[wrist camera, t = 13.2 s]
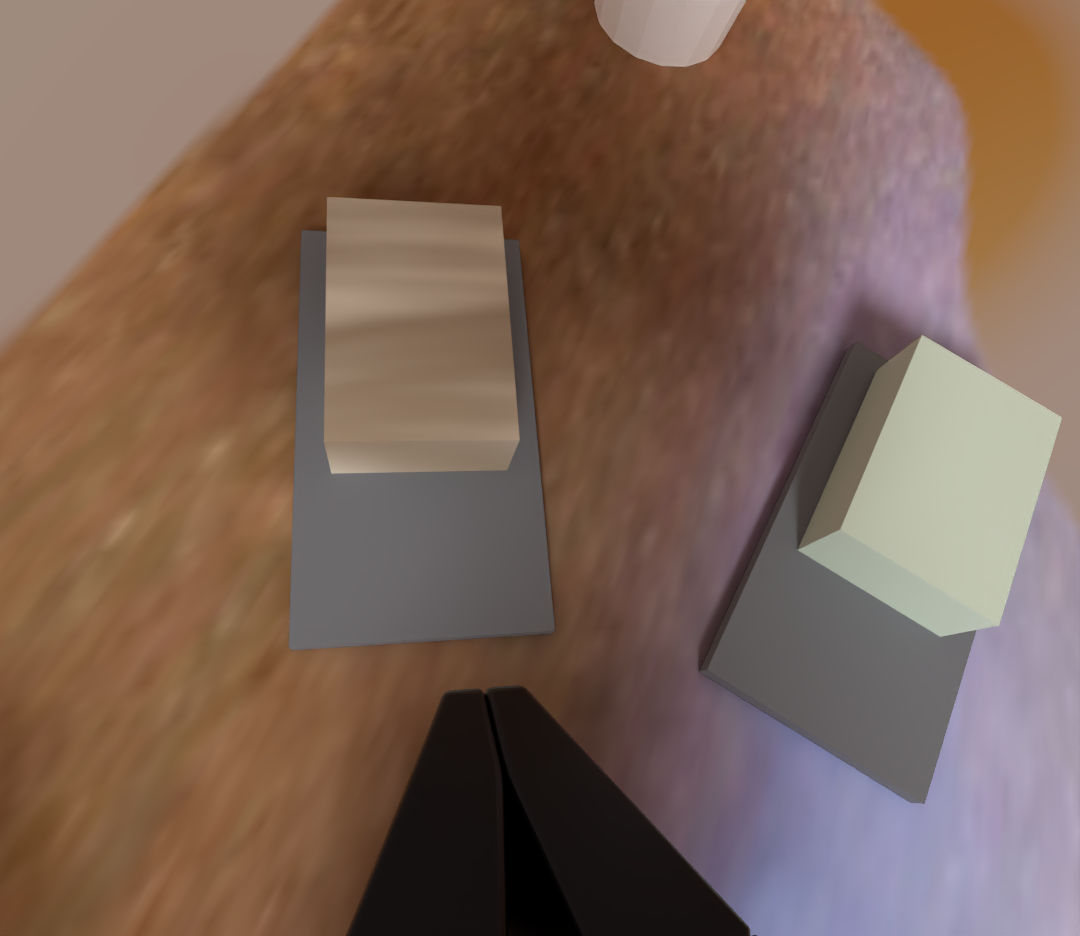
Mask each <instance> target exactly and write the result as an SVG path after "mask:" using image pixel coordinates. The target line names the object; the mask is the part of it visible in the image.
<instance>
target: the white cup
mask: <svg viewBox="0 0 1080 936" xmlns="http://www.w3.org/2000/svg"><path fill="white" fill-rule="evenodd" d="M745 2H746V0H595V2H594V5H595V9H596V13H597V17H598V21H599V24H600V25H601V27H602V28H603V29H604V30H605V32H606V33H607V34H608V36H609V37H610V38H611V40H612V41H613V42H614V43H615V44H617V45H618V46H620V47H621V48H623V49H624V50H626V51H627V52H629V53H630V54H631V55H633V56H634V57H636V58H639V59H642V60H645V61H648V62H651V63H654V64H657V65H660V66H675V67H688V66H691V65H694V64H697V63H700V62H703V61H706V60H707V59H708V58H709V57H710V56H711V55H712V54H713V53H714V52H715V51H716V50H717V49H718V48H719V47H720V45H721V43H722V42H723V40H724V38H725V37H726V35H727V33H728V31H729V30H730V28H731V26H732V24H733V23H734V21H735V19H736V17H737V16H738V14H739V12H740V10H741V9H742V7H743V5H744V4H745Z"/></svg>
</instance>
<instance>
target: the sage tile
mask: <svg viewBox="0 0 1080 936" xmlns="http://www.w3.org/2000/svg"><path fill="white" fill-rule="evenodd" d="M1061 419H1062V417H1060V416H1058V415H1057V414H1055V413H1053V412H1052V411H1050V410H1048V409H1046V408H1045V407H1043V406H1042V405H1040V404H1038V403H1036V402H1035V401H1033V400H1031V399H1030V398H1028V397H1026V396H1025V395H1023V394H1021V393H1019V392H1018V391H1016V390H1015V389H1013V388H1011V387H1009V386H1008V385H1006V384H1004V383H1003V382H1001V381H999V380H998V379H996V378H994V377H993V376H991V375H989V374H988V373H986V372H984V371H982V370H981V369H979V368H977V367H976V366H974V365H972V364H971V363H969V362H967V361H966V360H964V359H962V358H960V357H959V356H957V355H955V354H954V353H952V352H950V351H949V350H947V349H945V348H944V347H942V346H940V345H938V344H937V343H935V342H933V341H932V340H930V339H928V338H927V337H925V336H923V335H921V336H920V337H919V338H917V339H916V340H915V341H913V342H912V343H911V344H910V345H908V346H907V347H906V348H905V349H903V350H902V351H901V352H899V353H898V354H897V355H896V356H894V357H893V358H892V359H890V360H889V361H888V362H887V363H885V364H884V365H883V366H882V367H880V368H879V369H878V370H877V371H876V373H875V376H874V378H873V380H872V382H871V385H870V387H869V389H868V392H867V394H866V396H865V398H864V401H863V403H862V405H861V407H860V410H859V412H858V414H857V416H856V419H855V421H854V423H853V426H852V428H851V430H850V432H849V435H848V437H847V439H846V441H845V444H844V446H843V448H842V450H841V453H840V455H839V457H838V459H837V462H836V464H835V466H834V469H833V471H832V473H831V475H830V478H829V480H828V482H827V484H826V487H825V489H824V491H823V493H822V496H821V498H820V500H819V503H818V505H817V507H816V509H815V512H814V514H813V516H812V518H811V521H810V523H809V525H808V527H807V530H806V532H805V534H804V537H803V539H802V541H801V543H800V546H799V548H798V551H800V552H802V553H803V554H805V555H806V556H808V557H810V558H811V559H813V560H815V561H816V562H818V563H820V564H821V565H823V566H825V567H826V568H828V569H830V570H831V571H833V572H834V573H836V574H838V575H839V576H841V577H843V578H844V579H846V580H848V581H849V582H851V583H853V584H854V585H856V586H857V587H859V588H861V589H862V590H864V591H866V592H867V593H869V594H871V595H872V596H874V597H876V598H877V599H879V600H881V601H882V602H884V603H885V604H887V605H889V606H890V607H892V608H894V609H895V610H897V611H899V612H900V613H902V614H904V615H905V616H907V617H908V618H910V619H912V620H913V621H915V622H917V623H918V624H920V625H922V626H923V627H925V628H927V629H928V630H930V631H932V632H933V633H935V634H936V635H938V636H940V637H942V636H947V635H952V634H957V633H963V632H968V631H973V630H978V629H983V628H989V627H994V626H999V624H1000V620H1001V617H1002V614H1003V611H1004V607H1005V604H1006V601H1007V597H1008V594H1009V591H1010V587H1011V584H1012V581H1013V578H1014V574H1015V571H1016V568H1017V564H1018V561H1019V558H1020V554H1021V551H1022V548H1023V545H1024V541H1025V538H1026V535H1027V531H1028V528H1029V525H1030V521H1031V518H1032V515H1033V512H1034V508H1035V505H1036V502H1037V498H1038V495H1039V492H1040V488H1041V485H1042V482H1043V479H1044V475H1045V472H1046V469H1047V465H1048V462H1049V459H1050V455H1051V452H1052V449H1053V445H1054V442H1055V439H1056V435H1057V432H1058V429H1059V426H1060V422H1061Z"/></svg>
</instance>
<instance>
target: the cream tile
mask: <svg viewBox="0 0 1080 936" xmlns="http://www.w3.org/2000/svg"><path fill="white" fill-rule="evenodd" d="M519 441H520V437H519V425H518V412H517V399H516V387H515V374H514V362H513V349H512V337H511V324H510V312H509V299H508V286H507V274H506V261H505V249H504V236H503V224H502V211H501V206H489V205H470V204H451V203H432V202H414V201H395V200H376V199H357V198H338V197H327V242H326V319H325V396H324V445H325V449H326V453H327V457H328V461H329V466H330V470H331V474H333V473H387V472H442V471H496V470H507V469H508V467H509V464H510V462H511V460H512V457H513V455H514V453H515V450H516V448H517V445H518V443H519Z"/></svg>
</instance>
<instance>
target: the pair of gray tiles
mask: <svg viewBox="0 0 1080 936" xmlns="http://www.w3.org/2000/svg"><path fill="white" fill-rule="evenodd" d="M326 242H327V231H307V230H301V262H300V295H299V328H298V362H297V395H296V428H295V462H294V495H293V528H292V562H291V595H290V628H289V648H290V649H291V650H304V649H320V648H336V647H352V646H367V645H383V644H399V643H415V642H431V641H446V640H462V639H478V638H494V637H510V636H525V635H541V634H551V633H553V632H554V631H555V625H554V614H553V603H552V592H551V581H550V571H549V560H548V549H547V538H546V528H545V517H544V506H543V495H542V484H541V474H540V463H539V452H538V441H537V430H536V420H535V409H534V398H533V387H532V376H531V366H530V355H529V344H528V333H527V322H526V312H525V301H524V290H523V279H522V268H521V258H520V247H519V240H510V239H504V249H505V261H506V274H507V286H508V299H509V312H510V324H511V337H512V349H513V362H514V374H515V387H516V399H517V412H518V425H519V437H520V441H519V443H518V445H517V448H516V450H515V453H514V455H513V457H512V460H511V462H510V464H509V467H508V469H507V470H496V471H442V472H387V473H333V474H331V470H330V466H329V461H328V457H327V453H326V449H325V445H324V396H325V319H326ZM887 362H888V360H886V359H885V358H883V357H881V356H879V355H878V354H876V353H874V352H873V351H871V350H869V349H868V348H866V347H864V346H863V345H861V344H859V343H858V342H855V343H854V344H853V345H852V346H851V347H850V348H849V349H847V351H846V353H845V355H844V357H843V359H842V361H841V364H840V366H839V368H838V370H837V372H836V375H835V377H834V379H833V381H832V383H831V385H830V388H829V390H828V392H827V394H826V396H825V398H824V401H823V403H822V405H821V407H820V409H819V412H818V414H817V416H816V418H815V420H814V422H813V425H812V427H811V429H810V431H809V433H808V436H807V438H806V440H805V442H804V444H803V446H802V449H801V451H800V453H799V455H798V457H797V459H796V462H795V464H794V466H793V468H792V470H791V473H790V475H789V477H788V479H787V481H786V483H785V486H784V488H783V490H782V492H781V494H780V497H779V499H778V501H777V503H776V505H775V507H774V510H773V512H772V514H771V516H770V518H769V520H768V523H767V525H766V527H765V529H764V531H763V534H762V536H761V538H760V540H759V542H758V544H757V547H756V549H755V551H754V553H753V555H752V558H751V560H750V562H749V564H748V566H747V568H746V571H745V573H744V575H743V577H742V579H741V581H740V584H739V586H738V588H737V590H736V592H735V595H734V597H733V599H732V601H731V603H730V605H729V608H728V610H727V612H726V614H725V616H724V619H723V621H722V623H721V625H720V627H719V629H718V632H717V634H716V636H715V638H714V640H713V643H712V645H711V647H710V649H709V651H708V653H707V656H706V658H705V660H704V662H703V664H702V666H701V669H700V671H699V672H700V673H702V674H704V675H705V676H707V677H708V678H710V679H712V680H713V681H715V682H716V683H718V684H720V685H721V686H723V687H725V688H726V689H728V690H729V691H731V692H733V693H734V694H736V695H737V696H739V697H741V698H742V699H744V700H746V701H747V702H749V703H750V704H752V705H754V706H755V707H757V708H759V709H760V710H762V711H763V712H765V713H767V714H768V715H770V716H771V717H773V718H775V719H776V720H778V721H780V722H781V723H783V724H784V725H786V726H788V727H789V728H791V729H792V730H794V731H796V732H797V733H799V734H801V735H802V736H804V737H805V738H807V739H809V740H810V741H812V742H814V743H815V744H817V745H818V746H820V747H822V748H823V749H825V750H826V751H828V752H830V753H831V754H833V755H835V756H836V757H838V758H839V759H841V760H843V761H844V762H846V763H848V764H849V765H851V766H852V767H854V768H856V769H857V770H859V771H860V772H862V773H864V774H865V775H867V776H869V777H870V778H872V779H873V780H875V781H877V782H878V783H880V784H881V785H883V786H885V787H886V788H888V789H890V790H891V791H893V792H894V793H896V794H898V795H899V796H901V797H903V798H904V799H906V800H907V801H909V802H911V803H922V804H924V803H925V800H926V797H927V793H928V790H929V787H930V783H931V780H932V777H933V773H934V770H935V767H936V763H937V760H938V757H939V753H940V750H941V746H942V743H943V740H944V736H945V733H946V730H947V726H948V723H949V720H950V716H951V713H952V710H953V706H954V703H955V700H956V696H957V693H958V690H959V686H960V683H961V679H962V676H963V673H964V669H965V666H966V663H967V659H968V656H969V653H970V649H971V646H972V643H973V639H974V636H975V633H976V630H973V631H968V632H963V633H957V634H952V635H947V636H942V637H940V636H938V635H936V634H935V633H933V632H932V631H930V630H928V629H927V628H925V627H923V626H922V625H920V624H918V623H917V622H915V621H913V620H912V619H910V618H908V617H907V616H905V615H904V614H902V613H900V612H899V611H897V610H895V609H894V608H892V607H890V606H889V605H887V604H885V603H884V602H882V601H881V600H879V599H877V598H876V597H874V596H872V595H871V594H869V593H867V592H866V591H864V590H862V589H861V588H859V587H857V586H856V585H854V584H853V583H851V582H849V581H848V580H846V579H844V578H843V577H841V576H839V575H838V574H836V573H834V572H833V571H831V570H830V569H828V568H826V567H825V566H823V565H821V564H820V563H818V562H816V561H815V560H813V559H811V558H810V557H808V556H806V555H805V554H803V553H802V552H800V551H798V548H799V546H800V543H801V541H802V539H803V537H804V534H805V532H806V530H807V527H808V525H809V523H810V521H811V518H812V516H813V514H814V512H815V509H816V507H817V505H818V503H819V500H820V498H821V496H822V493H823V491H824V489H825V487H826V484H827V482H828V480H829V478H830V475H831V473H832V471H833V469H834V466H835V464H836V462H837V459H838V457H839V455H840V453H841V450H842V448H843V446H844V444H845V441H846V439H847V437H848V435H849V432H850V430H851V428H852V426H853V423H854V421H855V419H856V416H857V414H858V412H859V410H860V407H861V405H862V403H863V401H864V398H865V396H866V394H867V392H868V389H869V387H870V385H871V382H872V380H873V378H874V376H875V373H876V371H877V370H878V369H879V368H880V367H882V366H883V365H884V364H885V363H887Z"/></svg>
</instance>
